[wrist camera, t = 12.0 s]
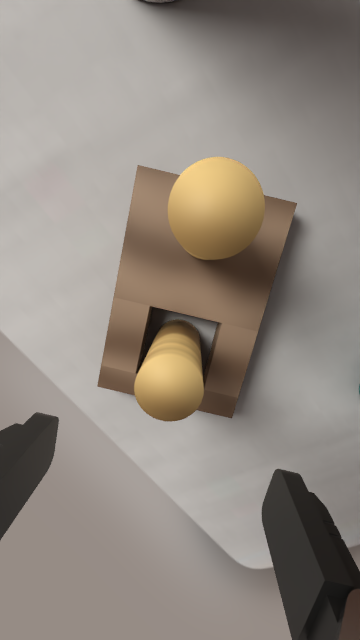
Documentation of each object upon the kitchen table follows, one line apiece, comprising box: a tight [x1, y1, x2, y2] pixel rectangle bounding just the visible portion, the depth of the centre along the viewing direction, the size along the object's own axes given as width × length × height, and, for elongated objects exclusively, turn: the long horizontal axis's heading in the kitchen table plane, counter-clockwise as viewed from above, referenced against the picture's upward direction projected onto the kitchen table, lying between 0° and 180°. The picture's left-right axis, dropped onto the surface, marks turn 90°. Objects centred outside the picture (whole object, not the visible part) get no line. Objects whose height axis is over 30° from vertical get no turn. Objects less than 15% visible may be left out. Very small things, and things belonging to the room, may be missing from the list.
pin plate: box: [98, 157, 297, 418], centre depth 19 cm, size 18×12×12 cm, turn 167°
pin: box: [134, 319, 204, 421], centre depth 21 cm, size 4×4×10 cm
